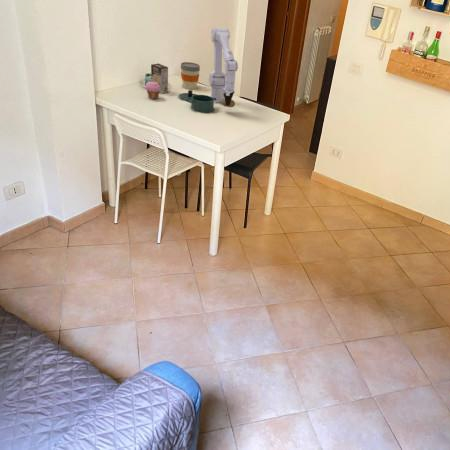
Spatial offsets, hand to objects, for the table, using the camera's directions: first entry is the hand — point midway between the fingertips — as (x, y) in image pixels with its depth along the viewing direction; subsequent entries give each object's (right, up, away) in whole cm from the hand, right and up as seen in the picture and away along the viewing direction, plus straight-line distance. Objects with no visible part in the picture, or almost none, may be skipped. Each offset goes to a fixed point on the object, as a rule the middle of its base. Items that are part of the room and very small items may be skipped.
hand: (228, 104), depth 264 cm
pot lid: (-27, +8, +14) cm, 31 cm away
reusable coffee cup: (-32, +21, +33) cm, 51 cm away
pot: (-16, -2, +1) cm, 16 cm away
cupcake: (-47, +5, +3) cm, 47 cm away
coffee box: (-47, +13, +16) cm, 51 cm away
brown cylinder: (0, -1, +1) cm, 2 cm away
